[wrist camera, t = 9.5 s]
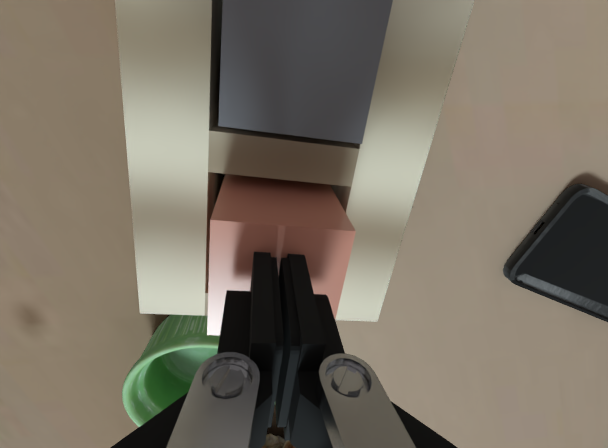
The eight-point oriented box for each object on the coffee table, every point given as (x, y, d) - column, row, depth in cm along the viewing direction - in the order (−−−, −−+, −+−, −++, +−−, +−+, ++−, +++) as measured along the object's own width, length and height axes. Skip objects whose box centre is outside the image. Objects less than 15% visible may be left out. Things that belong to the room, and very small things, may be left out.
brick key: (227, 167, 15) (210, 219, 10) (326, 178, 15) (355, 231, 11) (223, 254, 17) (206, 334, 12) (311, 260, 17) (330, 338, 12)
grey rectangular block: (238, -16, 13) (224, -64, 8) (349, 6, 14) (398, -26, 9) (232, 105, 15) (218, 125, 10) (330, 118, 16) (361, 144, 11)
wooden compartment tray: (157, -344, 11) (54, -747, 5) (464, -240, 13) (615, -465, 7) (172, 245, 20) (139, 313, 15) (348, 257, 22) (377, 321, 16)
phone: (635, 333, 27) (503, 279, 23) (622, 323, 28) (493, 270, 24) (718, 257, 25) (585, 180, 20) (700, 249, 26) (570, 175, 21)
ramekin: (187, 271, 21) (170, 319, 17) (299, 329, 24) (306, 381, 20) (122, 360, 23) (94, 419, 20) (231, 402, 27) (225, 461, 23)
